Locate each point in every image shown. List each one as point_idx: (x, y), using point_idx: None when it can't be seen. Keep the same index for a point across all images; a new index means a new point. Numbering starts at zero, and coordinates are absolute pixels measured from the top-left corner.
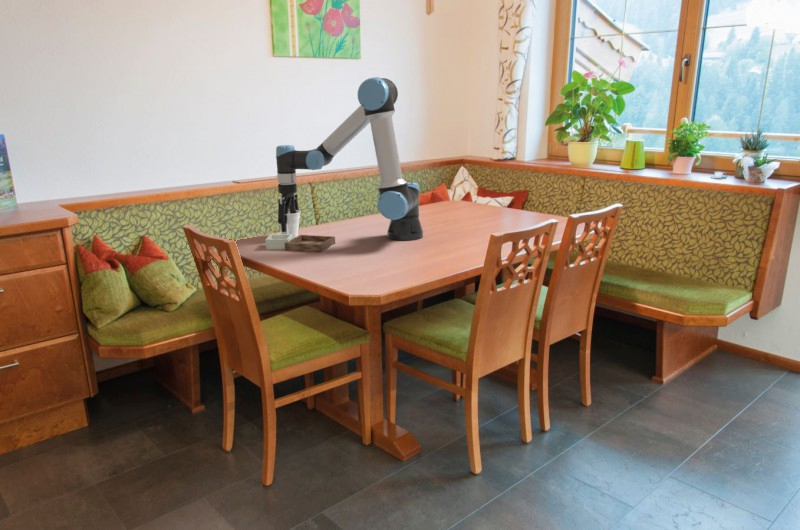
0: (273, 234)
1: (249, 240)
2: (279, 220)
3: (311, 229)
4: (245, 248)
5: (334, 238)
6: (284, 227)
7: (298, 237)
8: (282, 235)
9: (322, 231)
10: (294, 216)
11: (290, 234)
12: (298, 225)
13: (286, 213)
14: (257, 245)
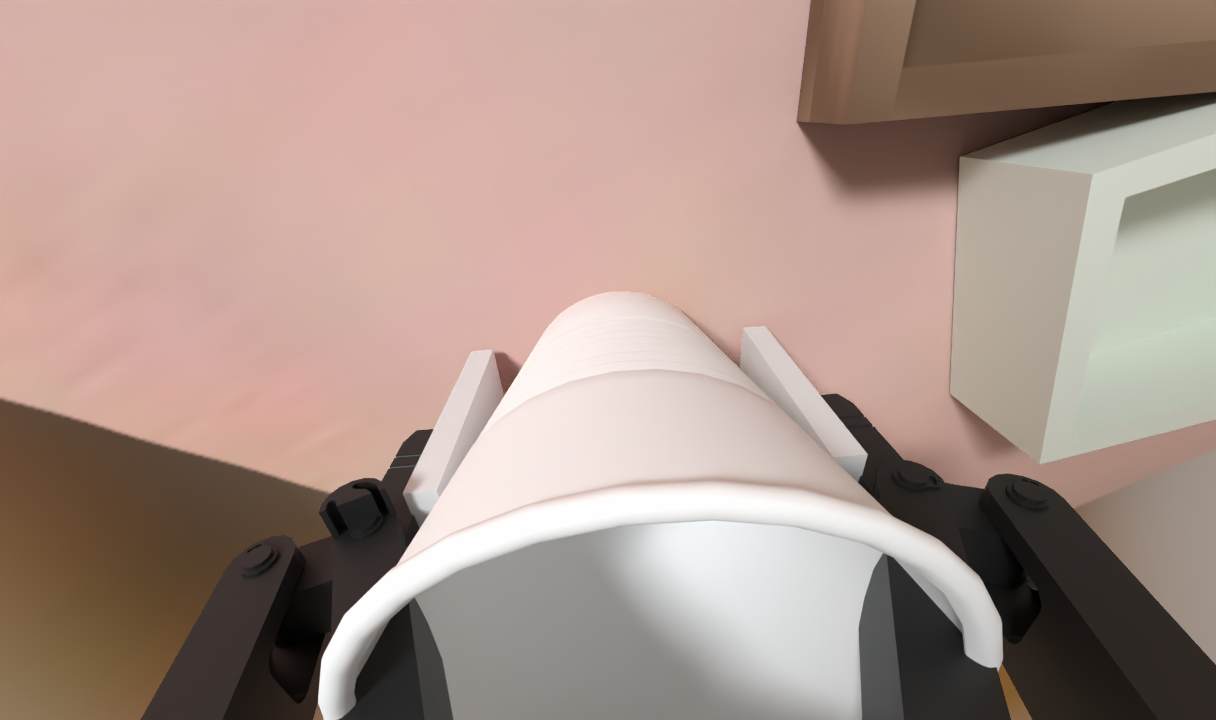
0: (1049, 432)
1: None
2: (1019, 585)
3: (120, 350)
4: (1099, 492)
5: None
6: (881, 436)
7: (1058, 55)
8: (1087, 313)
9: (73, 134)
10: (833, 477)
11: (1104, 202)
12: (588, 343)
13: (995, 688)
14: (994, 466)
